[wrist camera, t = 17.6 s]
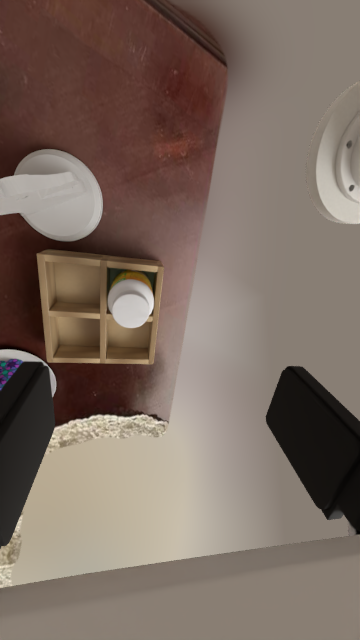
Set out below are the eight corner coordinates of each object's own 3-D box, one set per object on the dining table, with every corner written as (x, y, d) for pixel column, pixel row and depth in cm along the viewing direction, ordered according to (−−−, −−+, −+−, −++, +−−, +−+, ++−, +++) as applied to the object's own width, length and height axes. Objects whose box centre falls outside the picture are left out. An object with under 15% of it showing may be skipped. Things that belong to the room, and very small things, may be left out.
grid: (161, 261, 34) (164, 266, 30) (151, 350, 40) (153, 364, 36) (48, 248, 31) (36, 253, 27) (55, 347, 36) (46, 362, 33)
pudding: (61, 406, 41) (52, 431, 36) (-17, 410, 39) (-39, 438, 34) (52, 346, 36) (40, 365, 32) (-38, 347, 34) (-66, 368, 29)
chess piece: (116, 225, 31) (101, 234, 17) (45, 252, 31) (-25, 281, 17) (78, 137, 27) (20, 59, 13) (-4, 167, 27) (-148, 119, 13)
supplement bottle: (123, 260, 32) (119, 277, 23) (157, 279, 34) (165, 302, 25) (105, 293, 34) (95, 321, 25) (139, 310, 35) (140, 341, 27)
